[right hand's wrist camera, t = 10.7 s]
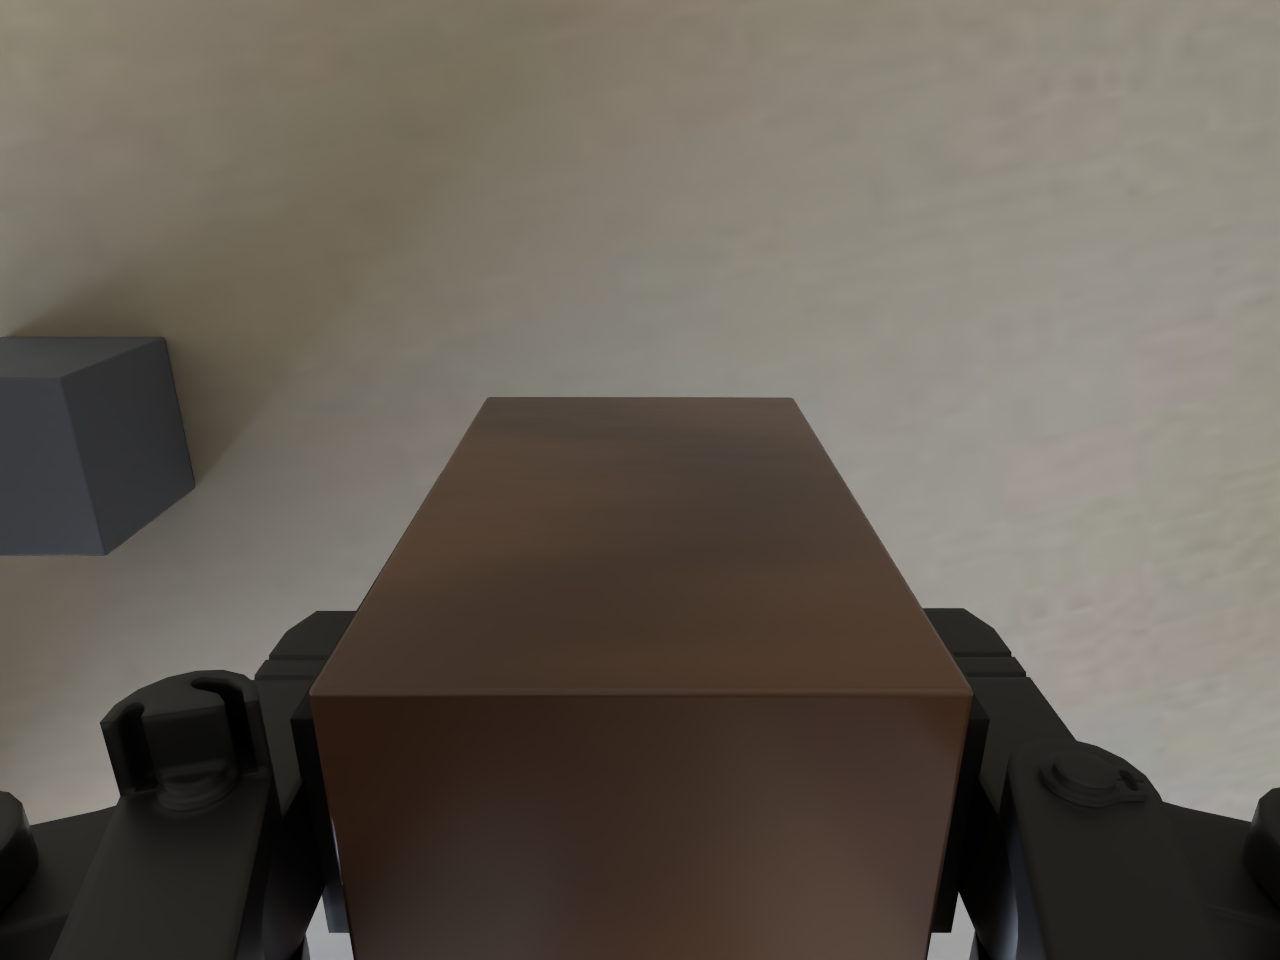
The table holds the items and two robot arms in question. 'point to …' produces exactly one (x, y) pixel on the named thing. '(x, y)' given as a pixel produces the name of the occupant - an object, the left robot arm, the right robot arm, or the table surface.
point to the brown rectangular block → (640, 702)
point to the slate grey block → (86, 443)
